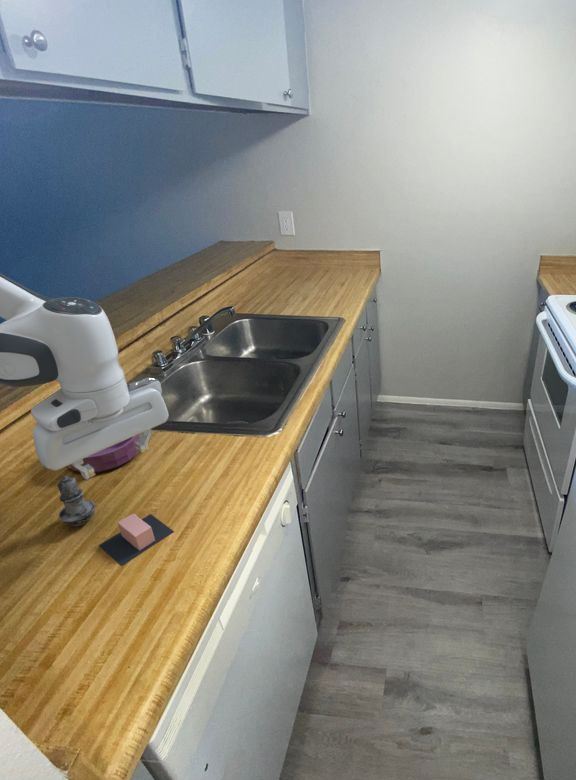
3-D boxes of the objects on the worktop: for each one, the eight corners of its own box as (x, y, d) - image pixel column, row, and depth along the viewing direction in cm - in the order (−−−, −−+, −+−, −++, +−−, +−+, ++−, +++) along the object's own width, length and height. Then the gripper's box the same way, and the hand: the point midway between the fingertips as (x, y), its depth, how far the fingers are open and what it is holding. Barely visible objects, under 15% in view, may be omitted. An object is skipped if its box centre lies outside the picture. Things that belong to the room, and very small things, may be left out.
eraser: (155, 540, 87) (151, 526, 86) (139, 551, 85) (135, 537, 84) (137, 526, 90) (133, 512, 89) (121, 536, 88) (117, 522, 86)
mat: (122, 568, 82) (121, 566, 82) (98, 547, 86) (98, 545, 86) (175, 533, 90) (174, 531, 90) (151, 515, 94) (150, 513, 93)
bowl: (87, 485, 101) (81, 466, 99) (53, 458, 108) (47, 440, 106) (157, 450, 112) (152, 433, 110) (122, 428, 120) (117, 411, 118)
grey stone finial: (106, 521, 92) (89, 472, 86) (74, 540, 87) (55, 490, 82) (89, 509, 95) (72, 461, 89) (57, 527, 90) (37, 478, 84)
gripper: (148, 368, 87) (162, 431, 93) (18, 413, 72) (45, 484, 78) (168, 378, 84) (181, 442, 90) (36, 428, 69) (63, 500, 75)
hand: (117, 462), depth 84 cm, fingers open, 8 cm apart
